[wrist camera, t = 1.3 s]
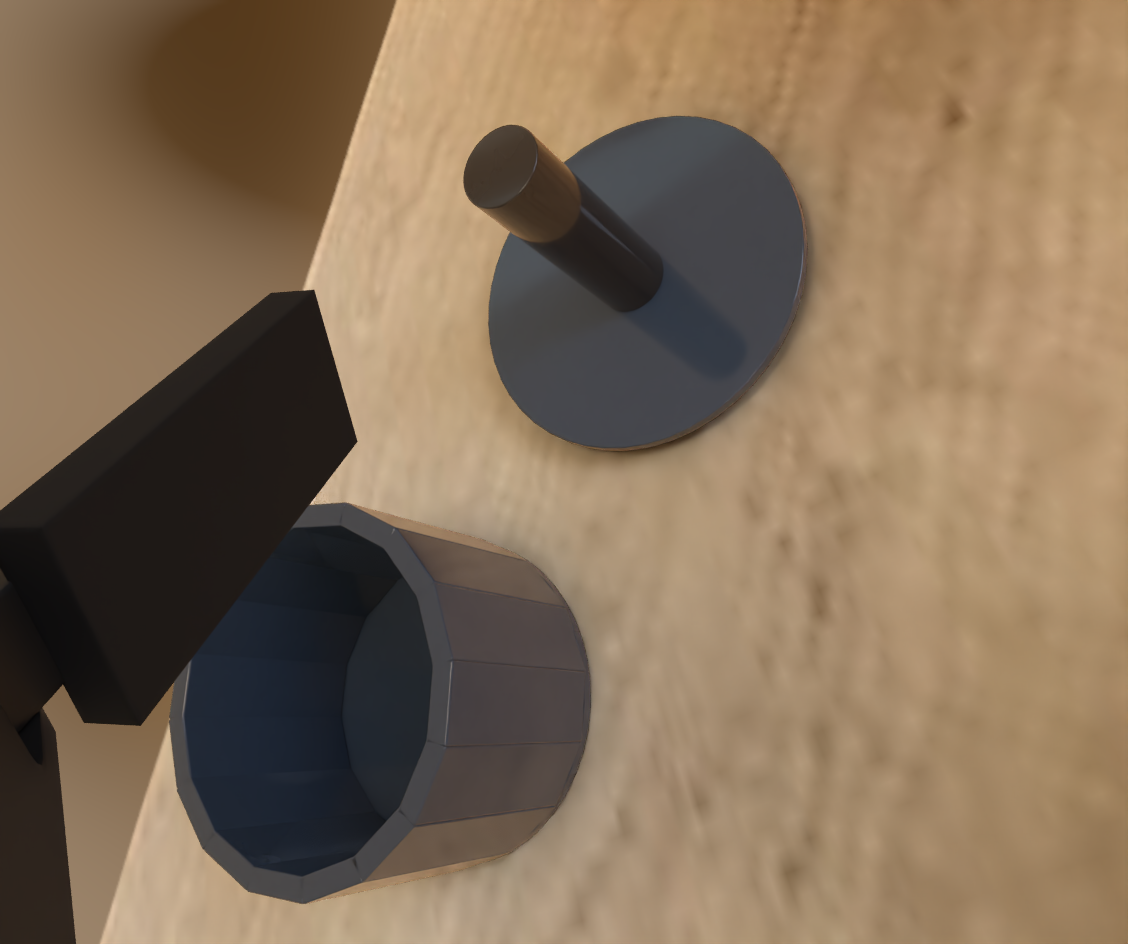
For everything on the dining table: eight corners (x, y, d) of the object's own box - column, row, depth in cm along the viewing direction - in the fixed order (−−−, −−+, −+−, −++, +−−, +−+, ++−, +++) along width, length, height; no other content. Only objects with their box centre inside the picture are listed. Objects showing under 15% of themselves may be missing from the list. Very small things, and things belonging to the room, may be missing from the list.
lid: (575, 113, 42) (430, -39, 33) (870, 151, 34) (778, -34, 26) (457, 401, 42) (282, 320, 33) (727, 503, 34) (588, 432, 26)
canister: (407, 501, 42) (256, 456, 35) (641, 613, 35) (511, 586, 28) (298, 767, 42) (124, 777, 35) (511, 933, 35) (347, 988, 28)
